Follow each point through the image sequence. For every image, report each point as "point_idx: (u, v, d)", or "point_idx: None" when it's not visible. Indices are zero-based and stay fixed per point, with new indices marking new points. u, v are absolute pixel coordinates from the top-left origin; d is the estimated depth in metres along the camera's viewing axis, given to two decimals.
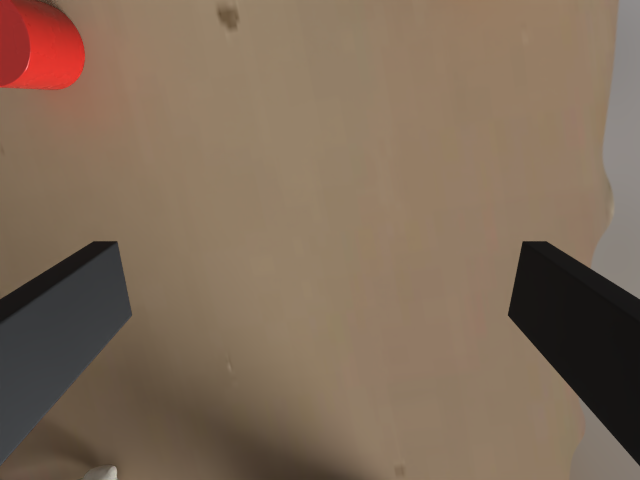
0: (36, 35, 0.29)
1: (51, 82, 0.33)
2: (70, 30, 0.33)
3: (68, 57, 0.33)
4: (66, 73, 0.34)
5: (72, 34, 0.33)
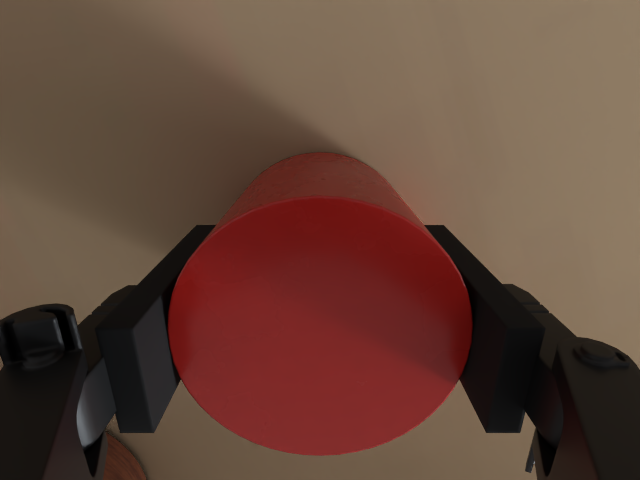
0: None
1: None
2: None
3: None
4: None
5: None
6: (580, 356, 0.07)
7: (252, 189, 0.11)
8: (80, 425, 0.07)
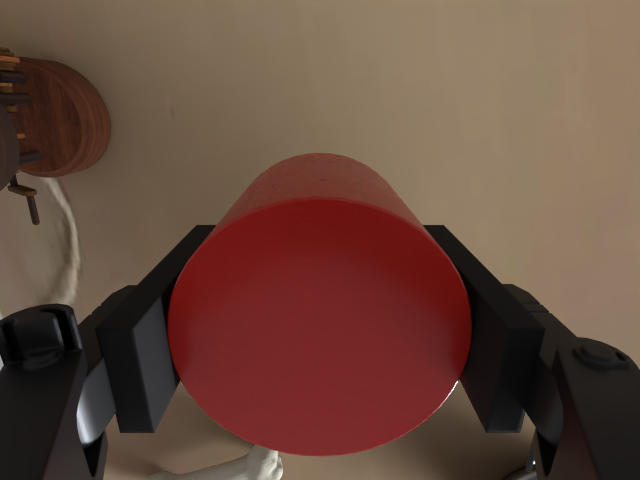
0: None
1: None
2: None
3: None
4: None
5: None
6: (580, 356, 0.07)
7: (252, 190, 0.11)
8: (80, 425, 0.07)
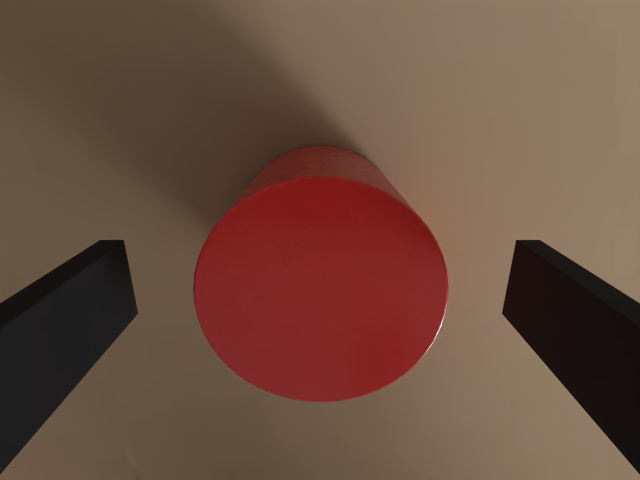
0: None
1: None
2: None
3: None
4: None
5: None
6: None
7: (262, 175, 0.13)
8: None
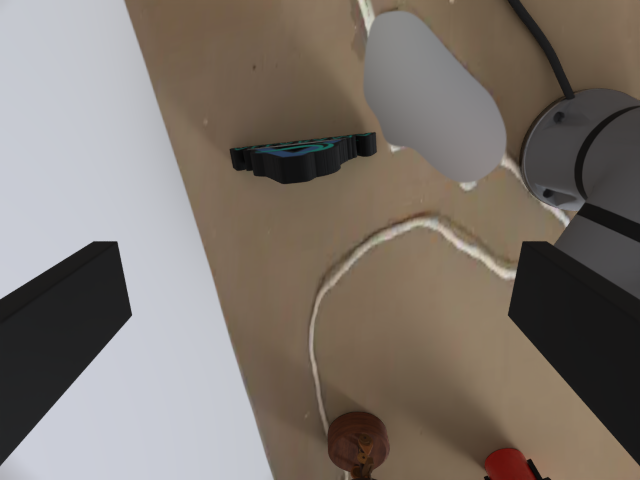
0: None
1: None
2: (526, 460, 0.67)
3: None
4: None
5: None
6: None
7: (506, 470, 0.65)
8: None
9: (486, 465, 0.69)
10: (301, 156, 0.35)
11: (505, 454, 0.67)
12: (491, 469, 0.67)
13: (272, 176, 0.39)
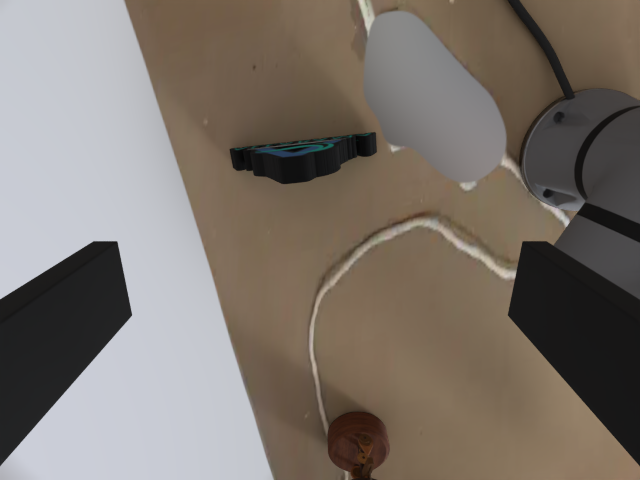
0: None
1: None
2: None
3: None
4: None
5: None
6: None
7: None
8: None
9: None
10: (301, 156, 0.35)
11: None
12: None
13: (272, 176, 0.39)
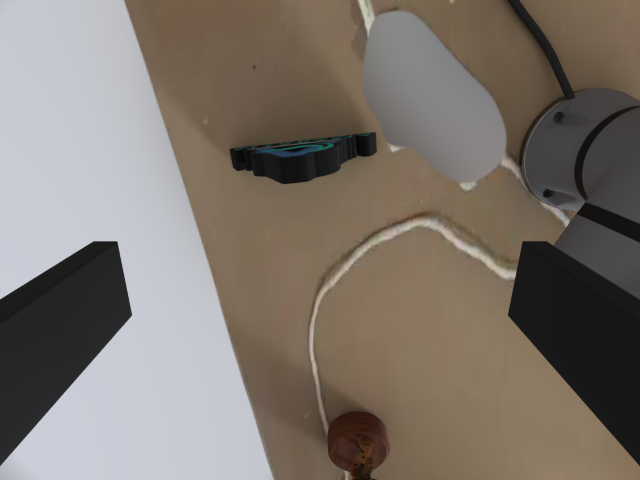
0: None
1: None
2: None
3: None
4: None
5: None
6: None
7: None
8: None
9: None
10: (301, 156, 0.35)
11: None
12: None
13: (272, 176, 0.39)
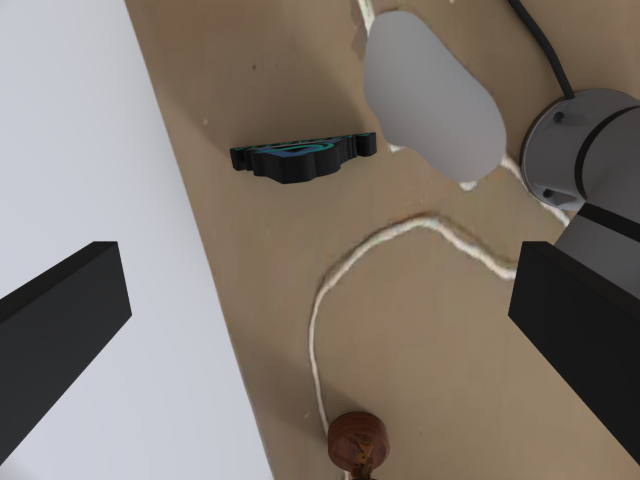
0: None
1: None
2: None
3: None
4: None
5: None
6: None
7: None
8: None
9: None
10: (301, 156, 0.35)
11: None
12: None
13: (272, 176, 0.39)
